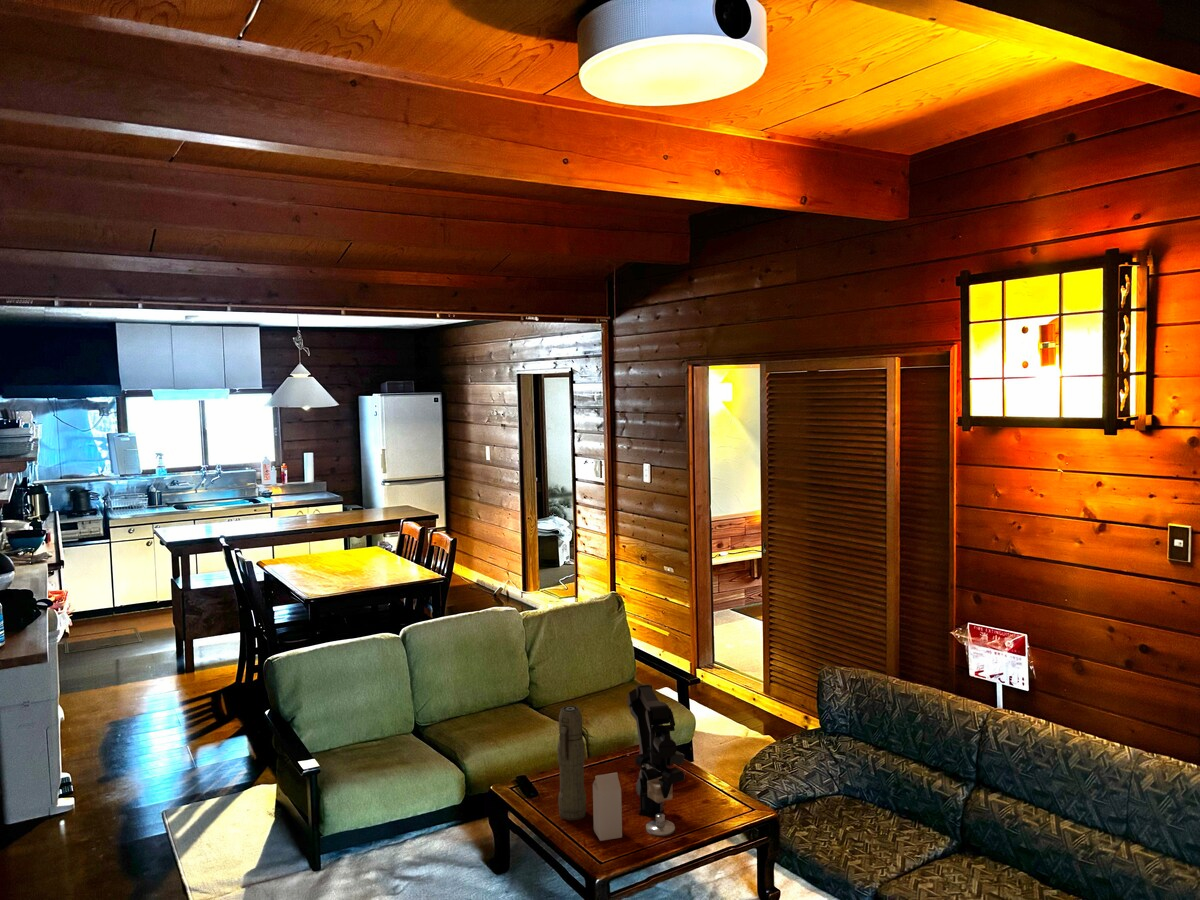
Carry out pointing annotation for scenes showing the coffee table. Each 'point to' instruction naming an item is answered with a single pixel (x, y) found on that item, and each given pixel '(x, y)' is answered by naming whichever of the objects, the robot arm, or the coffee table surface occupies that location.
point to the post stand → (660, 826)
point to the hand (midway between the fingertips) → (659, 794)
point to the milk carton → (607, 807)
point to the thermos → (571, 764)
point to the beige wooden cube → (657, 791)
